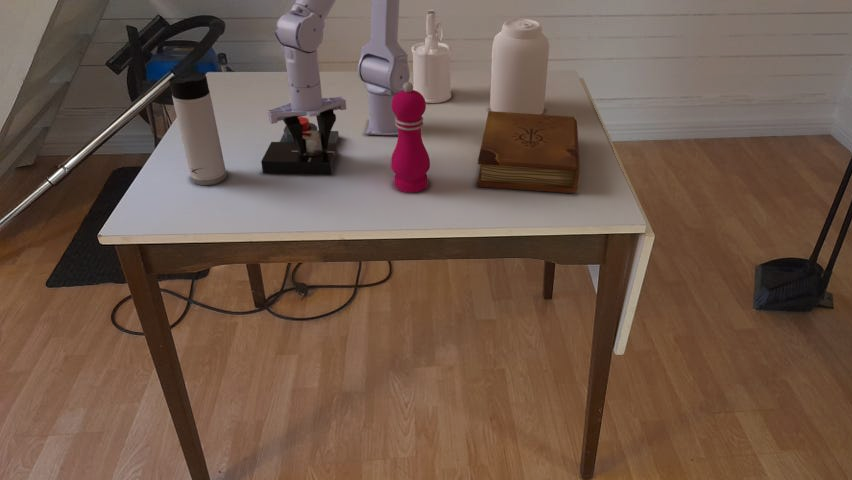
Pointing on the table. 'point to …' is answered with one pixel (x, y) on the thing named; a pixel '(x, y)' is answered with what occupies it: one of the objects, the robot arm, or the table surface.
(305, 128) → the stop button
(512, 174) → the diary
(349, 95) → the table surface
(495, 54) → the can
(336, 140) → the button box
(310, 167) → the panel
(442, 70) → the white oil can
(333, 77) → the table surface
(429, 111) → the table surface
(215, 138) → the travel mug
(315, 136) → the burner knob
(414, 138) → the pepper mill
